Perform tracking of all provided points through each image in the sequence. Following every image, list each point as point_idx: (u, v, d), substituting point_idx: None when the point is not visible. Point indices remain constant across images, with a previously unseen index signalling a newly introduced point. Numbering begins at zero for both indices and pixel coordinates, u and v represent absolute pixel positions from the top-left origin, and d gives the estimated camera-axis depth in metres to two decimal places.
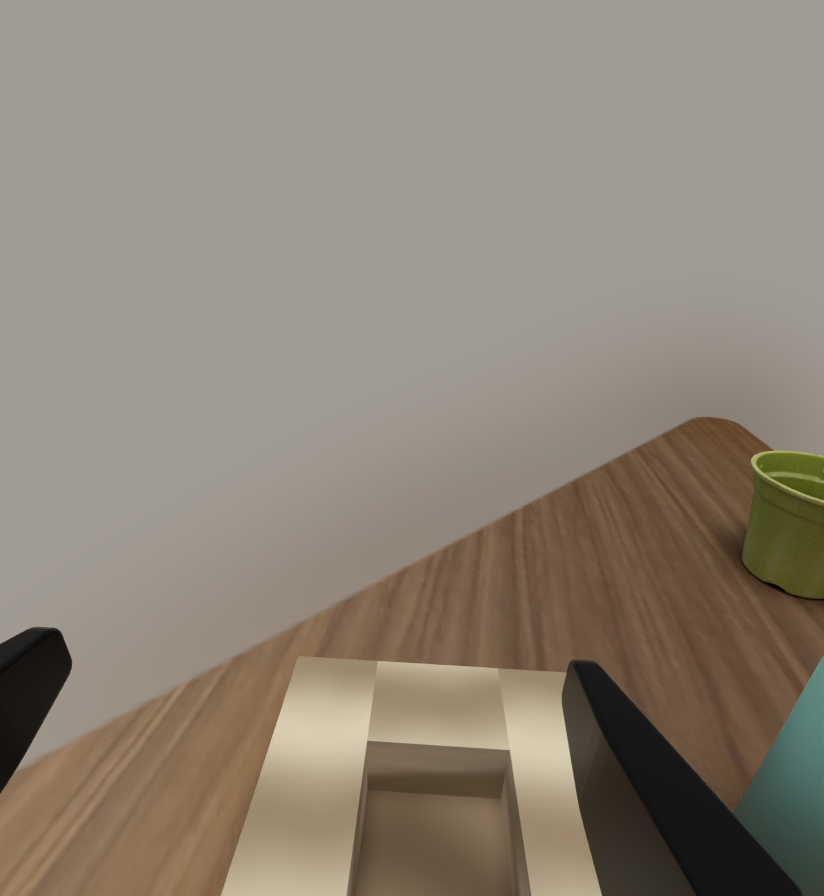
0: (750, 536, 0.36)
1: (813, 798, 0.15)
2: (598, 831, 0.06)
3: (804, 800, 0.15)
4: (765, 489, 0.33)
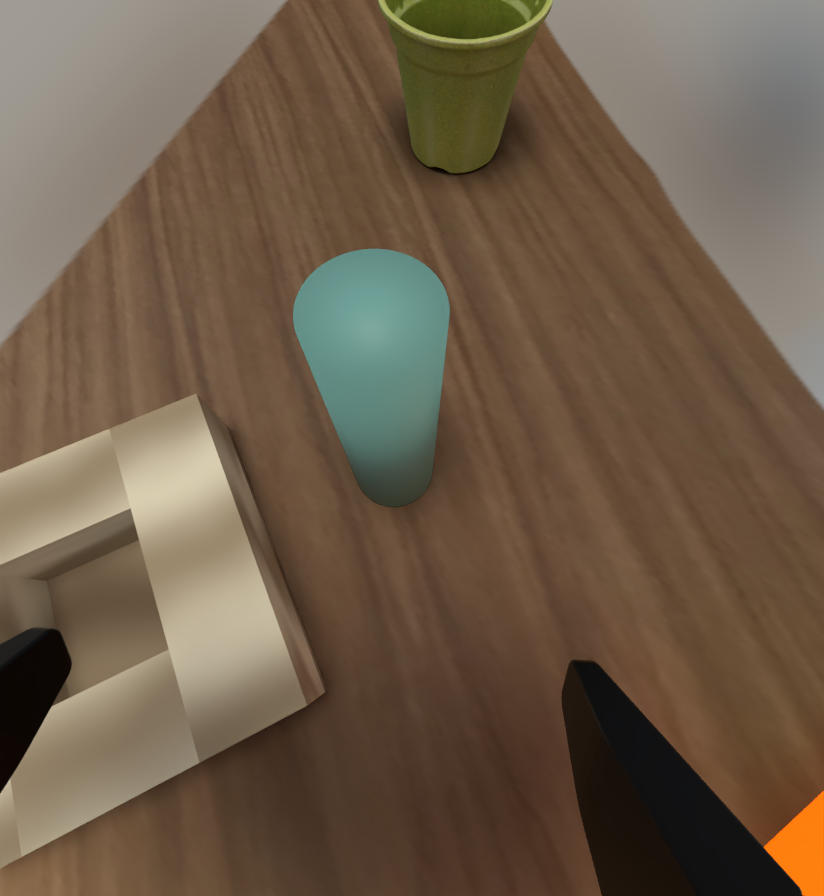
0: (406, 110, 0.30)
1: (350, 449, 0.17)
2: (598, 831, 0.06)
3: (348, 450, 0.17)
4: (395, 35, 0.25)
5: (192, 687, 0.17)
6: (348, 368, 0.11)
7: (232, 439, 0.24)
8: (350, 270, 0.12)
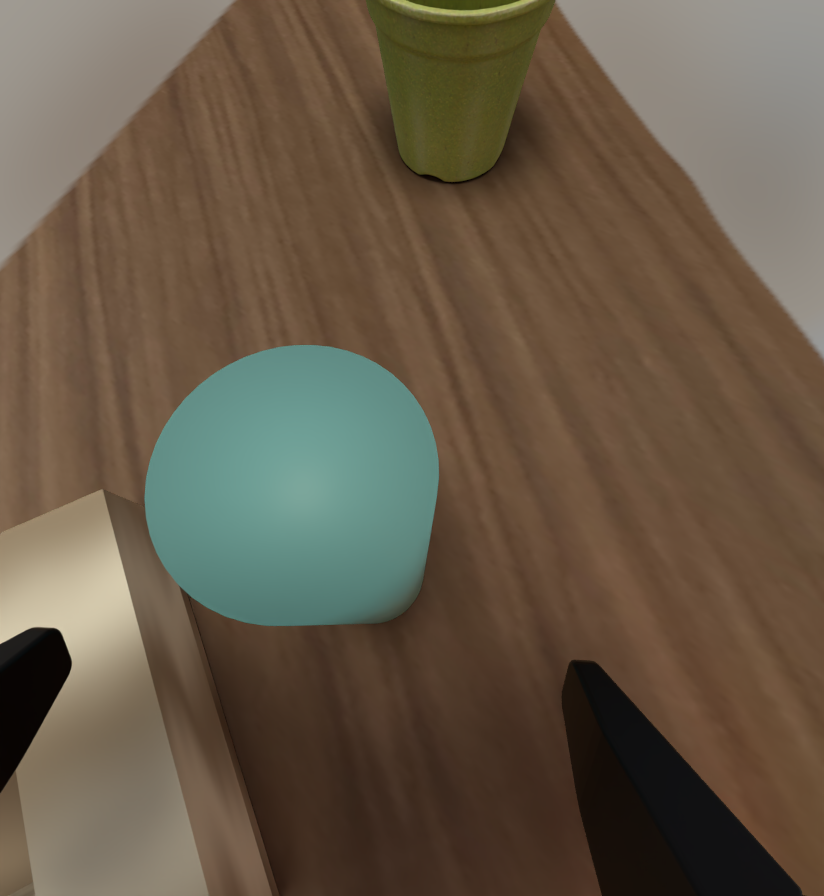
0: (390, 105, 0.24)
1: None
2: (598, 831, 0.06)
3: None
4: (373, 8, 0.19)
5: None
6: (240, 602, 0.06)
7: None
8: (259, 388, 0.07)
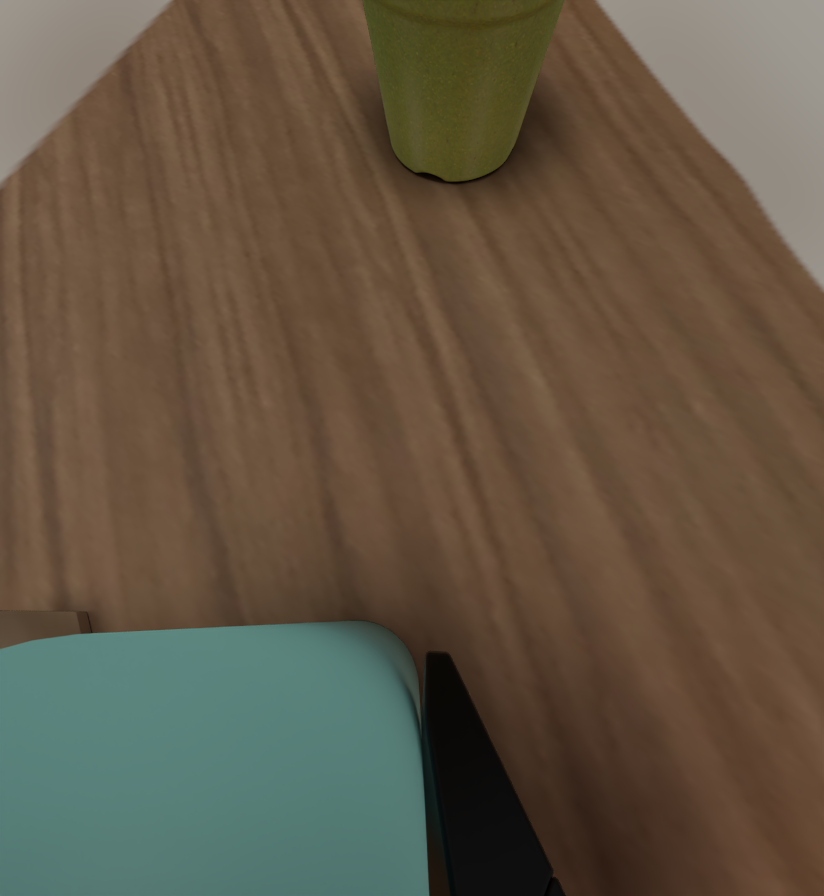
0: (380, 88, 0.20)
1: None
2: None
3: None
4: None
5: None
6: None
7: None
8: None
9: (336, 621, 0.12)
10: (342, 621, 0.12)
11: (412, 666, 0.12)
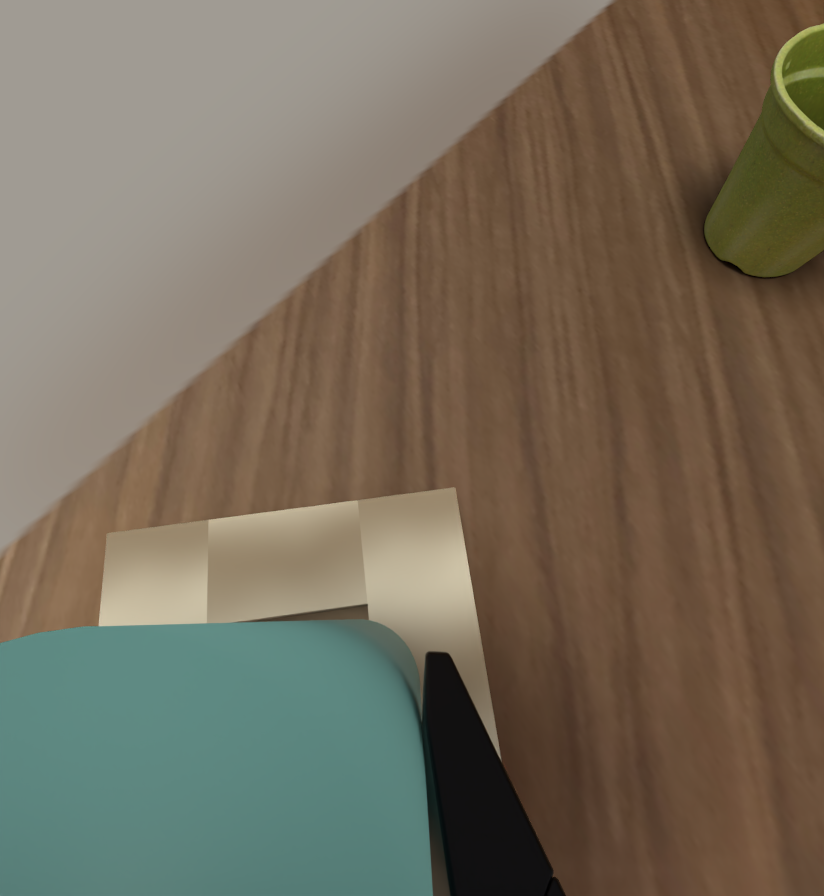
0: (725, 195, 0.26)
1: None
2: None
3: None
4: (777, 124, 0.21)
5: None
6: None
7: None
8: None
9: None
10: None
11: (413, 664, 0.12)
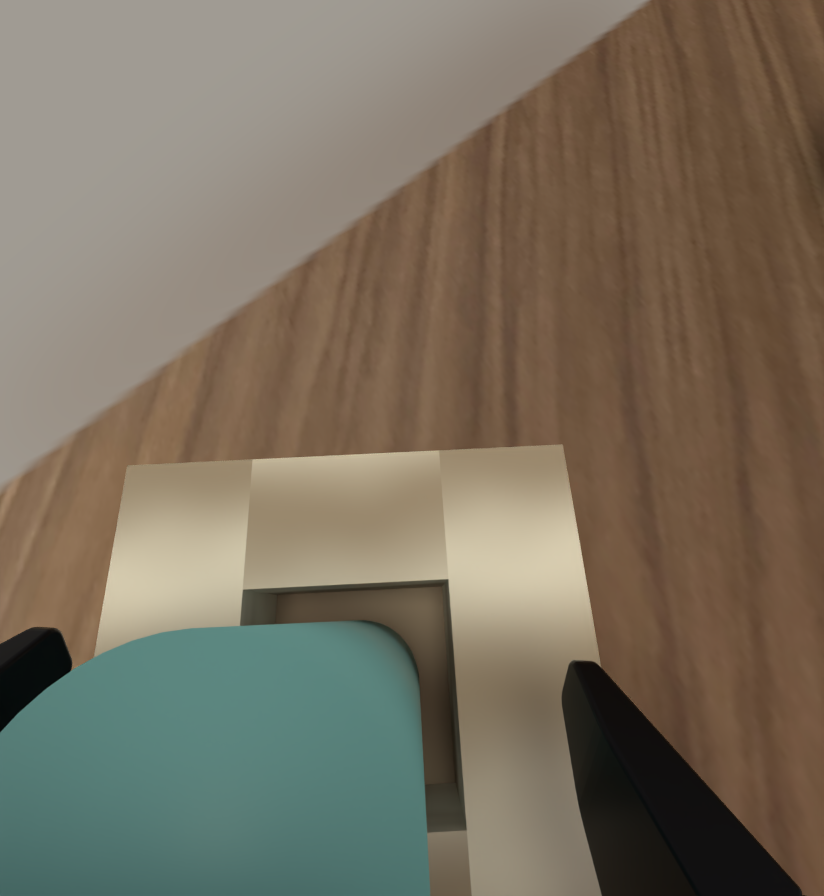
0: None
1: None
2: (598, 831, 0.06)
3: None
4: None
5: None
6: None
7: None
8: (120, 722, 0.04)
9: None
10: None
11: (413, 661, 0.14)
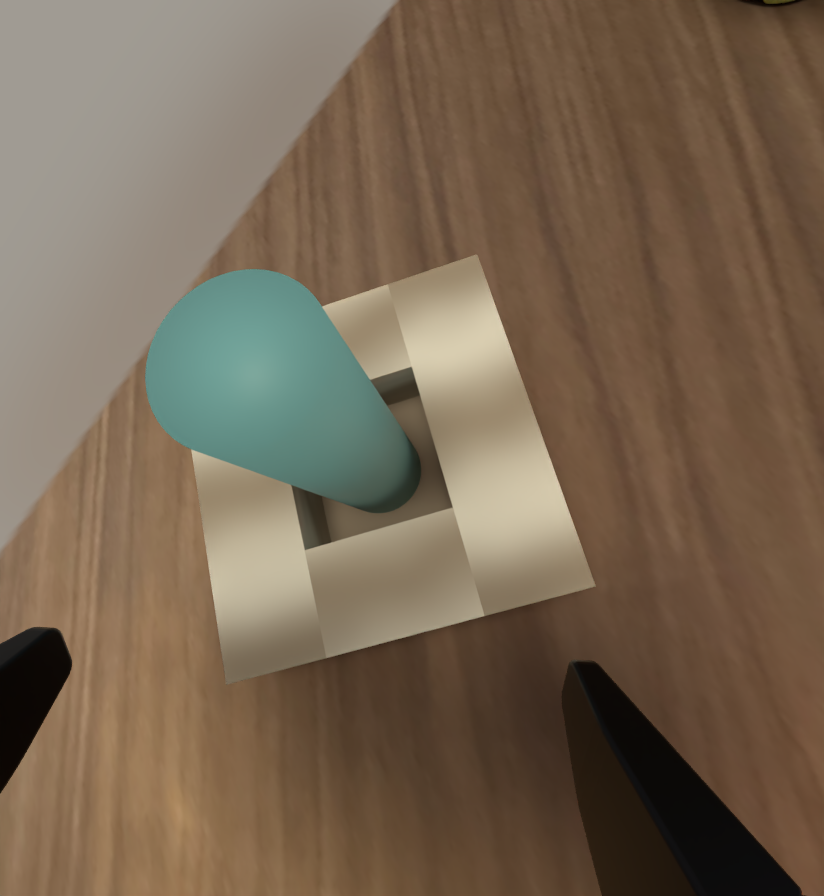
0: None
1: None
2: (598, 831, 0.06)
3: None
4: None
5: (477, 546, 0.17)
6: (223, 445, 0.09)
7: None
8: (201, 311, 0.10)
9: None
10: None
11: None
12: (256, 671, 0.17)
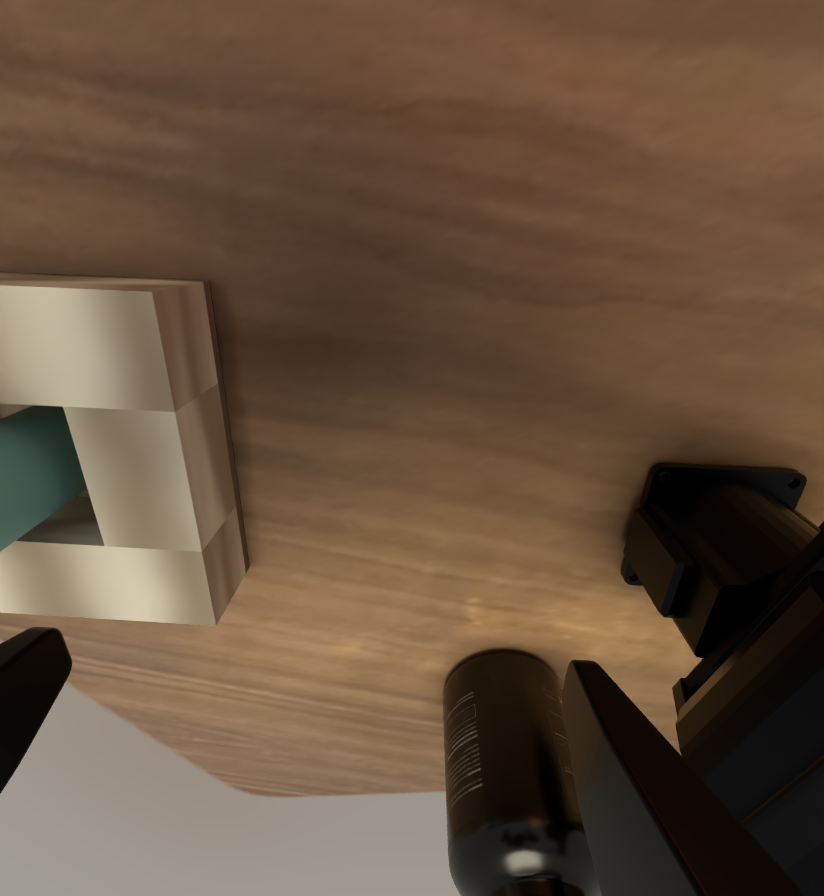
0: None
1: None
2: (598, 831, 0.06)
3: None
4: None
5: (105, 396, 0.16)
6: None
7: None
8: None
9: None
10: None
11: None
12: (207, 603, 0.20)
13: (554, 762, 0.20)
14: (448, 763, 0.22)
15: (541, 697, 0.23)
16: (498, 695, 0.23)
